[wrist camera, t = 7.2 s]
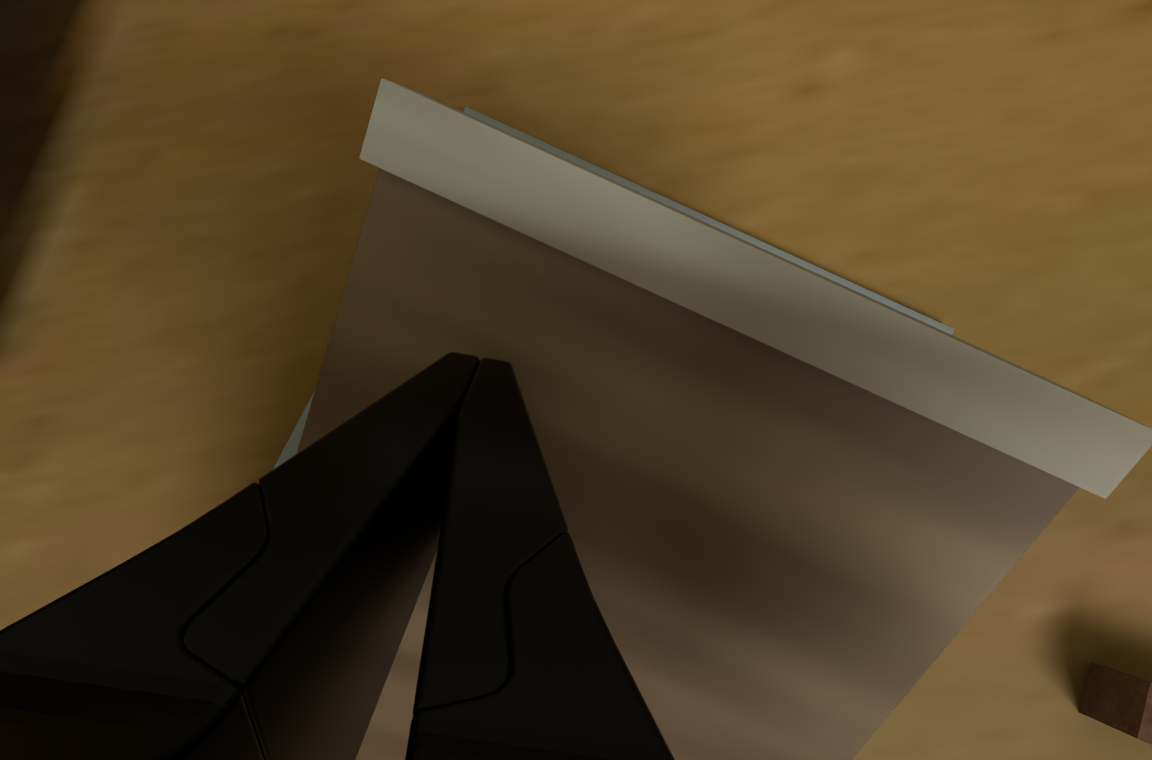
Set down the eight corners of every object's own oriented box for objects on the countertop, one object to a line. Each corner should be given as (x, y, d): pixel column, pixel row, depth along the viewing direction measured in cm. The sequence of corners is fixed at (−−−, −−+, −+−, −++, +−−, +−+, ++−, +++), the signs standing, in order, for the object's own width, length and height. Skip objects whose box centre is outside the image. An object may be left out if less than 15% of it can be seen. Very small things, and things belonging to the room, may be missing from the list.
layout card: (644, 1194, 14) (647, 1213, 13) (39, 919, 14) (25, 931, 13) (946, 331, 17) (955, 328, 17) (466, 112, 17) (465, 105, 17)
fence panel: (636, 1044, 12) (1161, 433, 7) (171, 832, 12) (381, 77, 7) (638, 960, 14) (1086, 396, 9) (219, 770, 14) (424, 94, 9)
